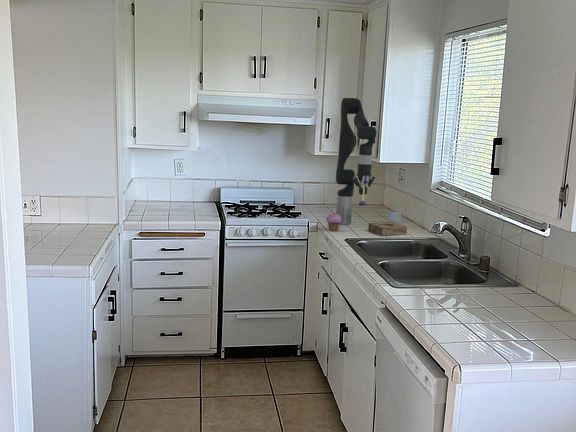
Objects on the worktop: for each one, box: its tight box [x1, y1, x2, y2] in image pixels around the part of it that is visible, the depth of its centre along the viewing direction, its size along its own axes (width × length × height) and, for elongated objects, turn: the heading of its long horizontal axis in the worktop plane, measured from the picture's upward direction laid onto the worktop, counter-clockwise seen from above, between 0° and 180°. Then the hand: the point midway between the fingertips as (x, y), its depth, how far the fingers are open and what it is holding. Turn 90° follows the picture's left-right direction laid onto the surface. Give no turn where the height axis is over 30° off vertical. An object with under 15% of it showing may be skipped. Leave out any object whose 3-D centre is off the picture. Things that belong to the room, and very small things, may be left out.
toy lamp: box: [358, 175, 369, 207], centre depth 324 cm, size 5×5×17 cm
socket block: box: [368, 221, 408, 237], centre depth 336 cm, size 15×16×5 cm
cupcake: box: [325, 212, 342, 232], centre depth 336 cm, size 9×9×10 cm
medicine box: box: [387, 211, 403, 225], centre depth 353 cm, size 8×4×9 cm, turn 74°
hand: (362, 194), depth 325 cm, fingers closed on toy lamp
